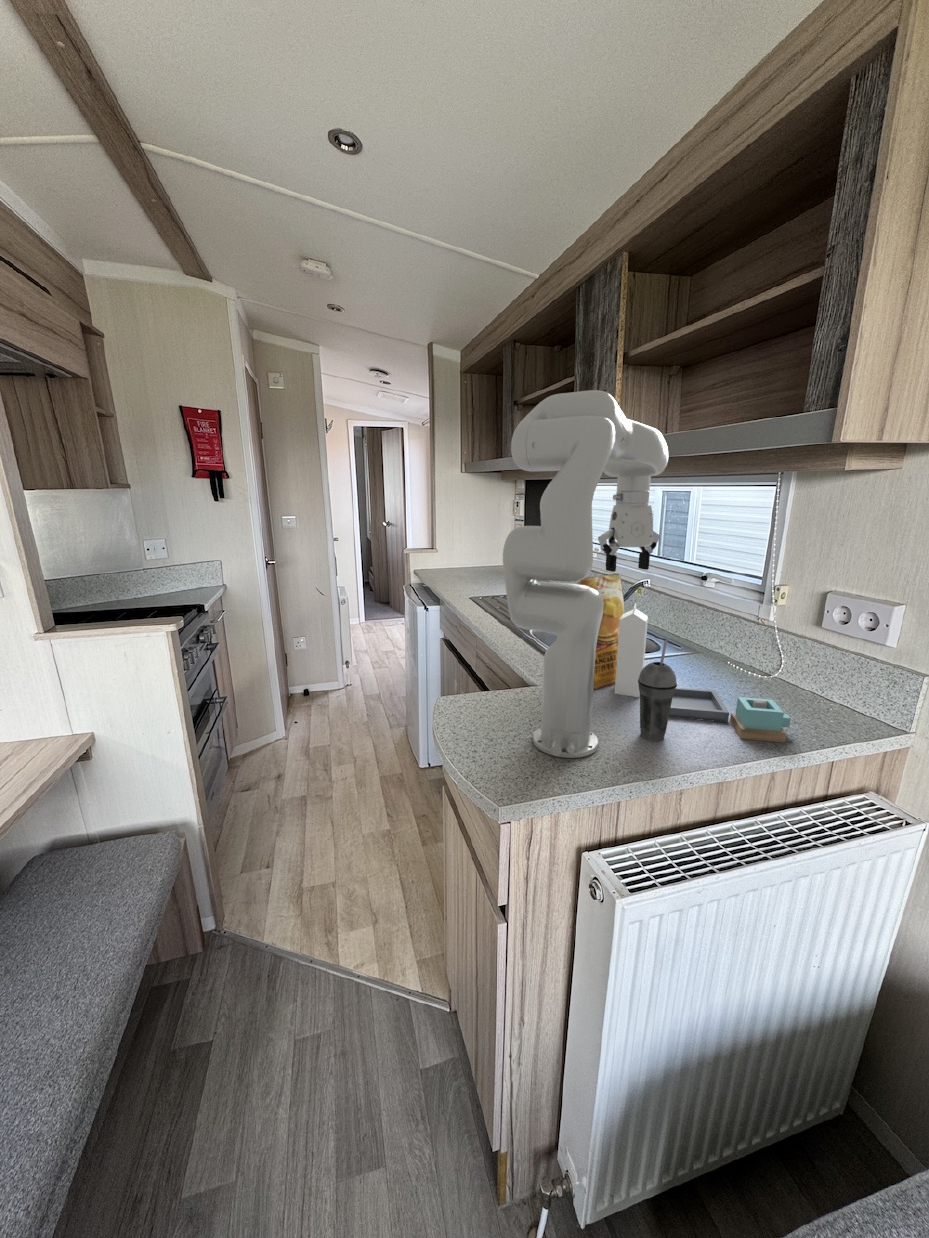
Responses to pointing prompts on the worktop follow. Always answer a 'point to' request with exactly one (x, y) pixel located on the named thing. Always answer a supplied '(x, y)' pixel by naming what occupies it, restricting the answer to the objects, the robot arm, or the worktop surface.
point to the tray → (698, 705)
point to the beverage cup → (656, 698)
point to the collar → (761, 715)
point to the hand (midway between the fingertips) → (627, 570)
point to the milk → (630, 652)
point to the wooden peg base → (757, 733)
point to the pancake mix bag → (607, 626)
